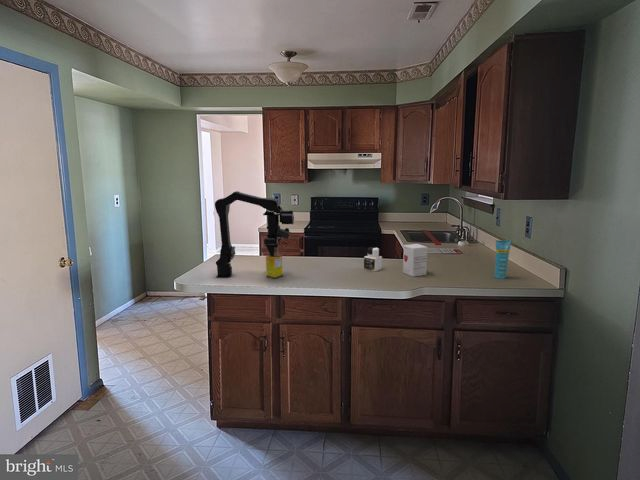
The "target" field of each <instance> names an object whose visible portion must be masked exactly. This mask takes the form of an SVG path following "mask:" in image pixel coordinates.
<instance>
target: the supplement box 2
mask: <svg viewBox="0 0 640 480" xmlns="http://www.w3.org/2000/svg"><path fill="white" fill-rule="evenodd" d="M428 249H429V247H428V246H425V245H423V244H419V243H413V244H404V245H403V256H402V257H403V259H402V260H403V261H402V273H403V274H406V275H408V276H410V277H412V278H413V277H419V276H426V275H427V264H428Z"/></svg>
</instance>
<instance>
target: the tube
mask: <svg viewBox="0 0 640 480" xmlns="http://www.w3.org/2000/svg"><path fill="white" fill-rule="evenodd" d="M511 245H512V240H511V239H510V240H495V268H494V270H495V271H494V277H495V278H497V279H501V280H502V279H503V280H505V279H506V277H507V269H508V261H509V255H510V250H511Z"/></svg>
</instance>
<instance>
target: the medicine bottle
mask: <svg viewBox="0 0 640 480" xmlns="http://www.w3.org/2000/svg"><path fill="white" fill-rule="evenodd" d="M379 254H380V248H378V247H376V246H370V247H367V255H365V256H363V270H366V271H371V272H377V271H380V270H382V269H383V256H381V255H379Z"/></svg>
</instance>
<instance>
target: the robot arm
mask: <svg viewBox="0 0 640 480" xmlns="http://www.w3.org/2000/svg"><path fill="white" fill-rule="evenodd" d="M236 201H240V202H244V203H249V204H252V205H256V206H259V207H261V208H263V209H264V210H265V212H263V213H262V216H266V217H267V219H266V222H267V223H266V224H267V226H266V230H267V234H266V238H265V239H264V240H263V244H264V246H265V247H266V249H267V251H268V254H269V253H270V255H271V257H273V256H274V250H275V247H278V248H279V242H280V241H281V240H282V239H285V240H289V238H290V236H291V233H292V232H291V231H290V228H288V227H286V228H285V229H284V228H281V225H294V223H295V216H294V210H292V209H291V210H283V208H282V207H281V205H280V201H279V199H277V198H271V197H260V196H257V195H252V194H248V193H244V192H241V191H237V190H236V191H233V192H232V193H231V194H229V195H228V196H226V197H223V198H218V199H217V200H216V201H215V203H214V208H215V211H216V214H217V216H218V219H219V229H220V239H221V246H220V247H221V248H220V252H219V253H220V254H219V258H218V259H217V261H216V262H215V265H216V267H217V268H216V269H217V270H216V271H217V275H216V278H231V276H232V275H233V267H232V265H231V264H232V263H231V261H232V260H233V259H234V258H235V255H236V254H237V253H236V247H235V246H233V245H232V243H231V235H230V234H231V233H230V225H229V213H230V208H231V207H230V206H231V204H233V203H235V202H236ZM280 223H281V225H280Z"/></svg>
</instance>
